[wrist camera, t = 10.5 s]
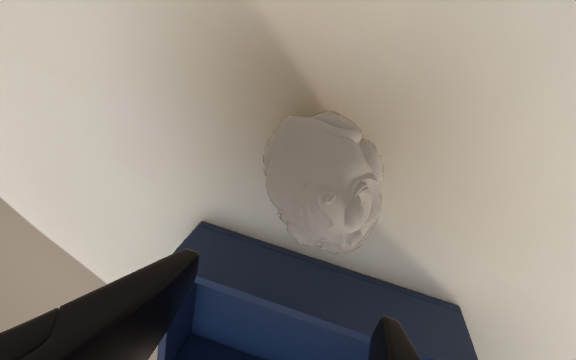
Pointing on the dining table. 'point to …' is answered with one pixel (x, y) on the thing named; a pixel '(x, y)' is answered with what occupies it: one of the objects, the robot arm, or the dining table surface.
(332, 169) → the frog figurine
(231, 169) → the dining table surface
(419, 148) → the dining table surface
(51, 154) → the dining table surface
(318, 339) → the lunchbox
